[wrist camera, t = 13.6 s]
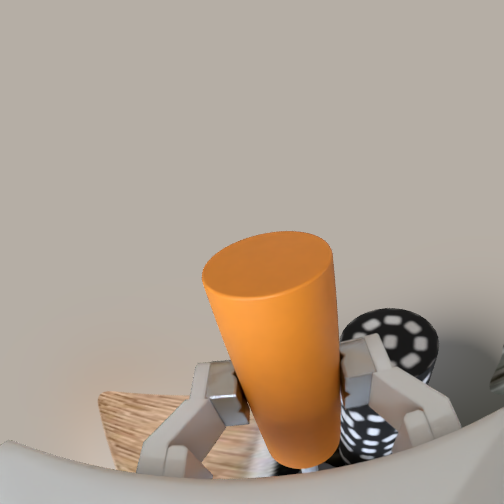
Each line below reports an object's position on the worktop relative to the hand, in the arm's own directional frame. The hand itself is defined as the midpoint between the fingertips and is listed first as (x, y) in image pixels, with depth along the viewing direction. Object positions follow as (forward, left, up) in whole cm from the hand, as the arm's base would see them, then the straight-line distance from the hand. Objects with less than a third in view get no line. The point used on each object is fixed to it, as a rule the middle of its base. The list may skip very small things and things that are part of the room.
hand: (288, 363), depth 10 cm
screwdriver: (+1, +1, -13) cm, 13 cm away
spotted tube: (-12, 0, -30) cm, 32 cm away
